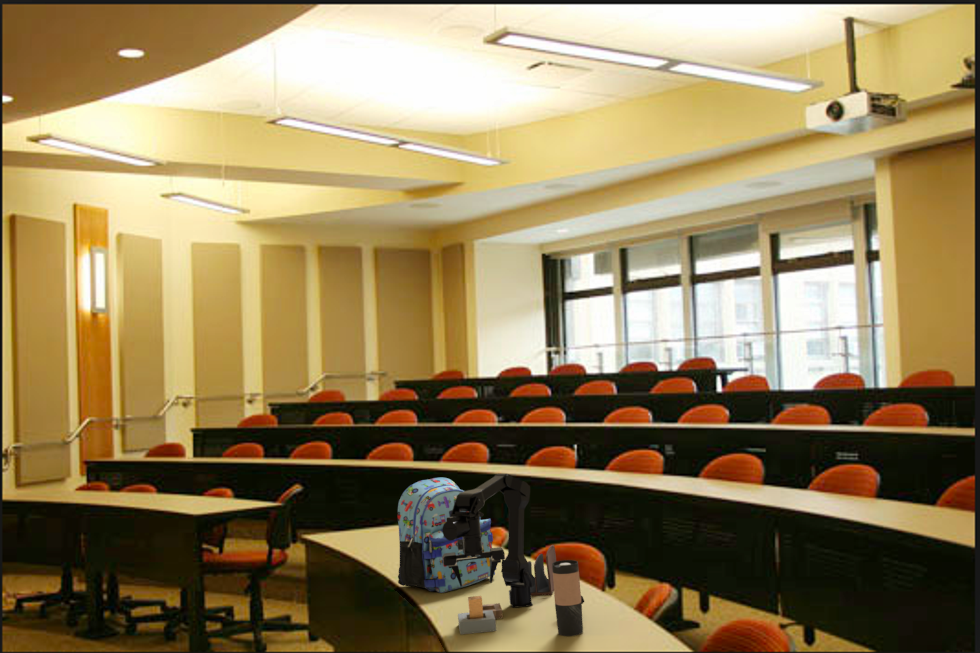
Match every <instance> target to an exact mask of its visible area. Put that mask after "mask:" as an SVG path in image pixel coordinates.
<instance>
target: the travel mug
mask: <svg viewBox="0 0 980 653" xmlns="http://www.w3.org/2000/svg"><path fill="white" fill-rule="evenodd" d="M552 569H553V583H554V591H553V595H554V608H555V617H556V625H557V633H558V635H560V636H563V637H575V636H579V635H581V634H583V633H584V628H583V627H584V625H583V624H584V623H583V608H582V607H583V606H582V605H583V604H582V602H581V596H582V593H581V591H582V590H581V582H580V580H581V579H580V572H579V562H578V560H575V559H563V560H562V559H561V560H556V562H553V563H552Z"/></svg>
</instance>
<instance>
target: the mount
mask: <svg viewBox="0 0 980 653" xmlns="http://www.w3.org/2000/svg"><path fill="white" fill-rule="evenodd" d="M482 606H483V611H490V610H492V611H493V614H494V617H495V620H496V619H499V620H500V619H504V616H503V615H504V614H503V609H502V606H501V603H500V602H498V603H490V604H489V603H487V604H482Z"/></svg>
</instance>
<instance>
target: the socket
mask: <svg viewBox="0 0 980 653" xmlns="http://www.w3.org/2000/svg"><path fill="white" fill-rule="evenodd" d="M457 617H458V618H457V619H458V622H457V623H458V628H459V635H469V634H476V633H477V634H478V633H486V632H487V633H488V632H496V631H497V624H496V619H495V617H494V614H493V611H492V610H490V611H483V618H478V619H470V617H469V612H461V613H457Z"/></svg>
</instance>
